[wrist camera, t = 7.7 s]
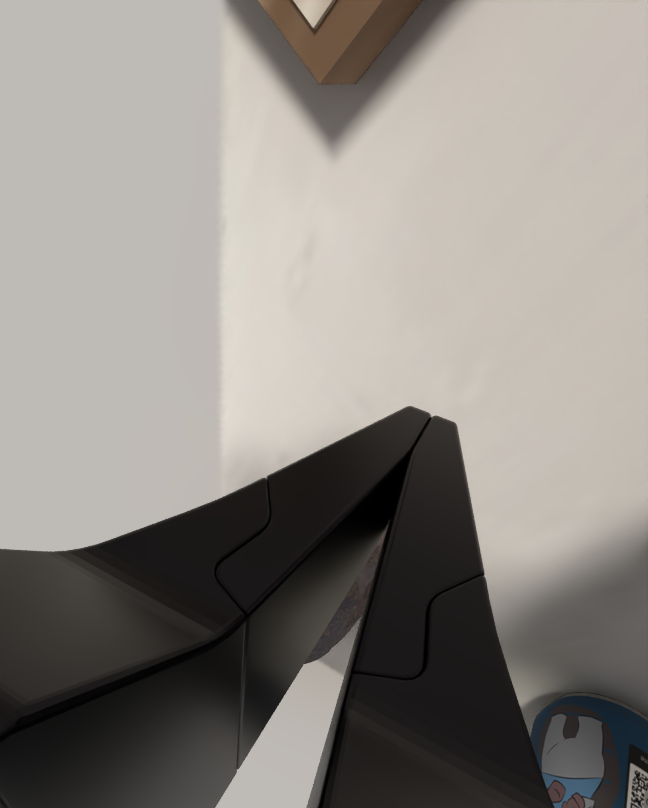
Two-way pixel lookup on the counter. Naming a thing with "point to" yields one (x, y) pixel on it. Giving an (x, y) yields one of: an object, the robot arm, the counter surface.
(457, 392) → the counter surface
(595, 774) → the soda can
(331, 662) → the counter surface
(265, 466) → the counter surface
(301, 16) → the walnut block
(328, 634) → the perforated stone tool
